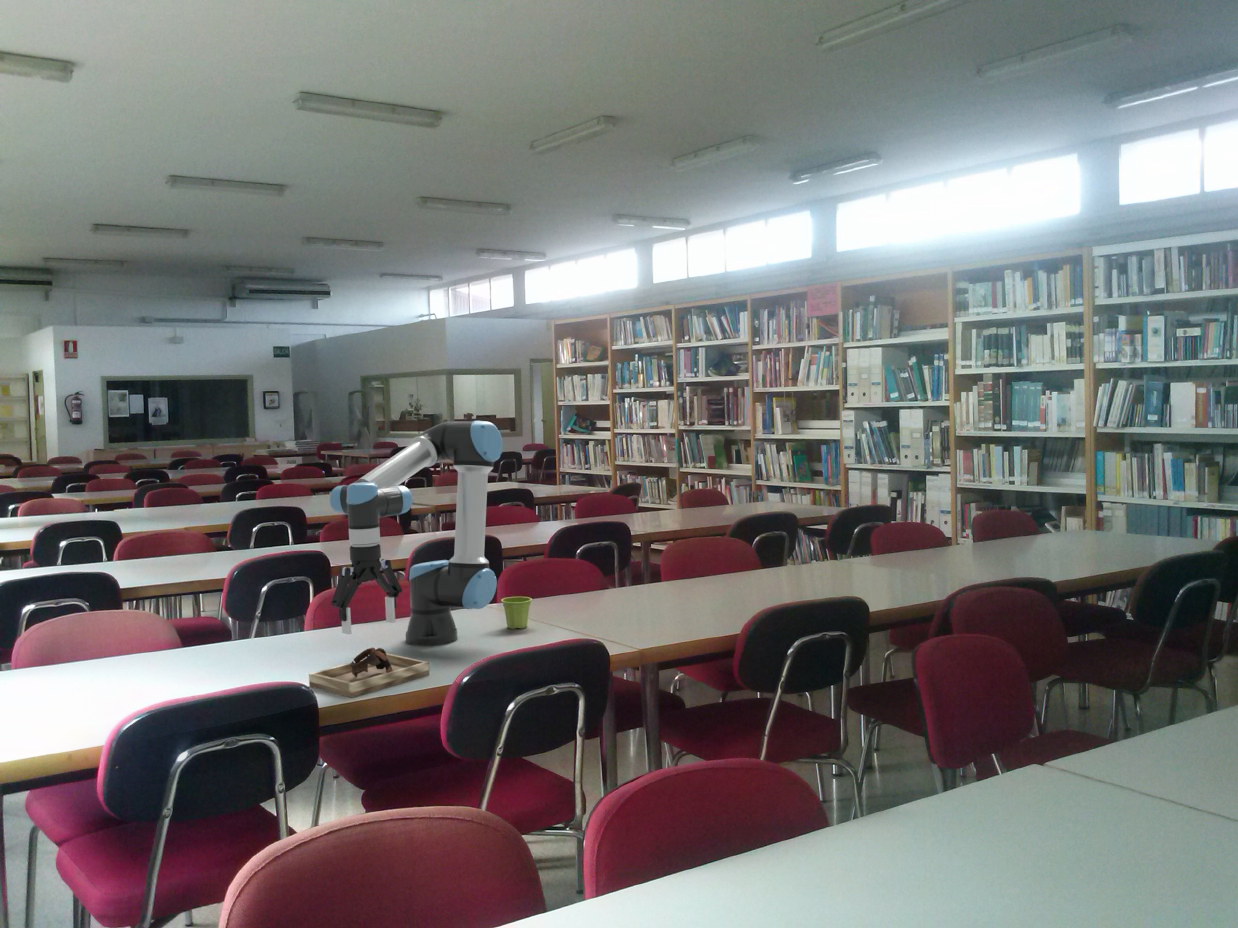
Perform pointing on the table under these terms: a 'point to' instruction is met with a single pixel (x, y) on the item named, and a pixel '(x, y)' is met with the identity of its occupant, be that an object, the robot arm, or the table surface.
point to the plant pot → (516, 611)
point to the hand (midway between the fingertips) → (369, 627)
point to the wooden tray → (368, 676)
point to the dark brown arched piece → (370, 661)
